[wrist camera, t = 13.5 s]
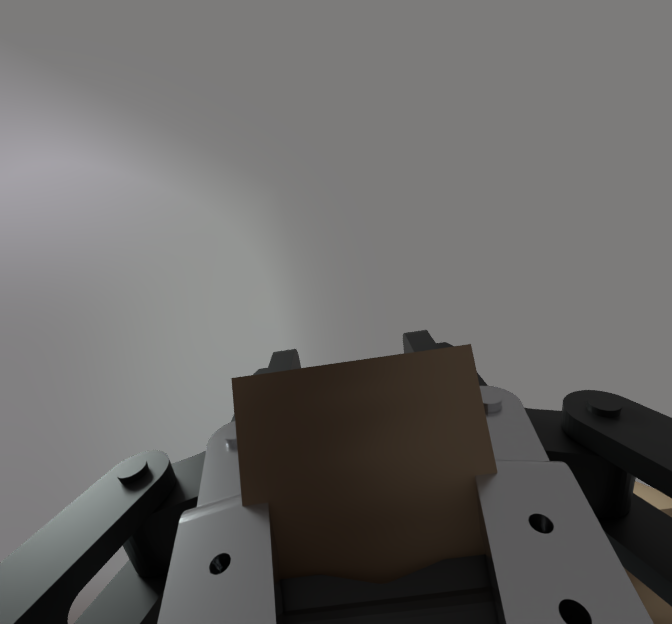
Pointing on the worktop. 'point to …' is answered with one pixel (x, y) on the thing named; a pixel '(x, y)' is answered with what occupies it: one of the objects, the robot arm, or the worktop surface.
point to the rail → (366, 462)
